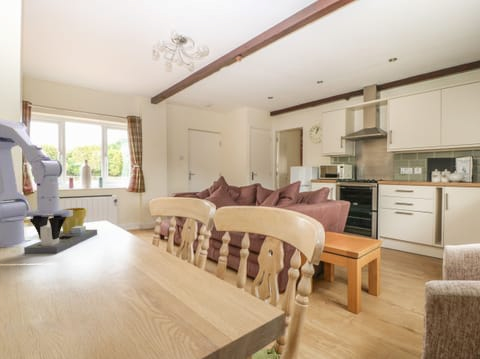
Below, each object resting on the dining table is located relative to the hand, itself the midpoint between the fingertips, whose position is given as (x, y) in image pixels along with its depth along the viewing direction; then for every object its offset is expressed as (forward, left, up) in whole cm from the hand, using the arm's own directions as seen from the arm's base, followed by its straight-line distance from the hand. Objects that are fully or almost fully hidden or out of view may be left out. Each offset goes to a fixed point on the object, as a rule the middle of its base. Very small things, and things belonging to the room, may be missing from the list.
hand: (49, 238), depth 85 cm
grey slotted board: (0, +8, -4) cm, 9 cm away
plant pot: (-9, +27, -4) cm, 29 cm away
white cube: (0, +16, -4) cm, 16 cm away
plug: (0, 0, -3) cm, 3 cm away
